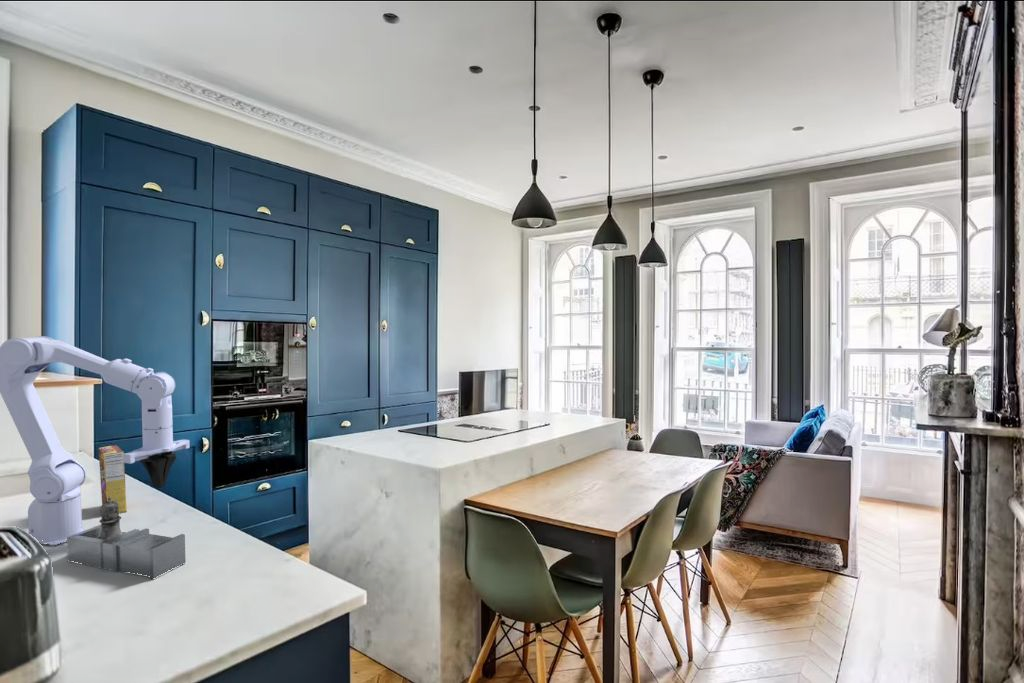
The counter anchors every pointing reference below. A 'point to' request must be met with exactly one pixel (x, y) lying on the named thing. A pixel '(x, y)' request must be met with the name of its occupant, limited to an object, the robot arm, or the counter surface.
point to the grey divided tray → (127, 551)
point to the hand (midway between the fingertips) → (159, 487)
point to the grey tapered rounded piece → (110, 520)
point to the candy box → (113, 476)
